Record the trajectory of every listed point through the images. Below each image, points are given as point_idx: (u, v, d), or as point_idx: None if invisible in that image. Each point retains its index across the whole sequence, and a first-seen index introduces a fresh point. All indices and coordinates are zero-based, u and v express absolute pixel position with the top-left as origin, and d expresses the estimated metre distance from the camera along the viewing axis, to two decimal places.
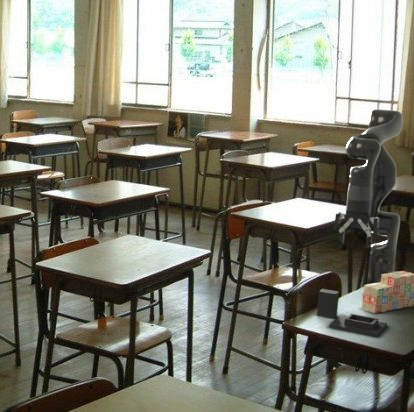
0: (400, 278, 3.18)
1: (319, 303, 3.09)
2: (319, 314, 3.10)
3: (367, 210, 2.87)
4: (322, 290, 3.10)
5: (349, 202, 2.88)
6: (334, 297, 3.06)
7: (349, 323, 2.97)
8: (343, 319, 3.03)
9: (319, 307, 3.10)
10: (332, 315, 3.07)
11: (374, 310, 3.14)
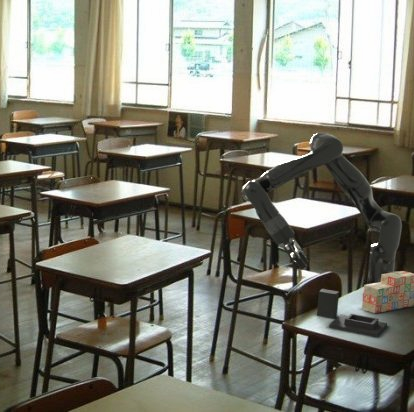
0: (400, 278, 3.18)
1: (319, 303, 3.09)
2: (319, 314, 3.10)
3: (279, 240, 3.09)
4: (322, 290, 3.10)
5: None
6: (334, 297, 3.06)
7: (349, 323, 2.97)
8: (343, 319, 3.03)
9: (319, 307, 3.10)
10: (332, 315, 3.07)
11: (374, 310, 3.14)
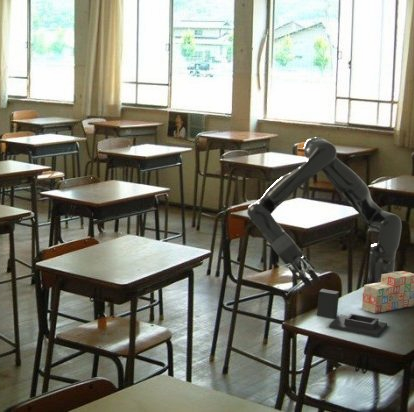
0: (400, 278, 3.18)
1: (319, 303, 3.09)
2: (319, 314, 3.10)
3: (286, 260, 3.12)
4: (322, 290, 3.10)
5: None
6: (334, 297, 3.06)
7: (349, 323, 2.97)
8: (343, 319, 3.03)
9: (319, 307, 3.10)
10: (332, 315, 3.07)
11: (374, 310, 3.14)
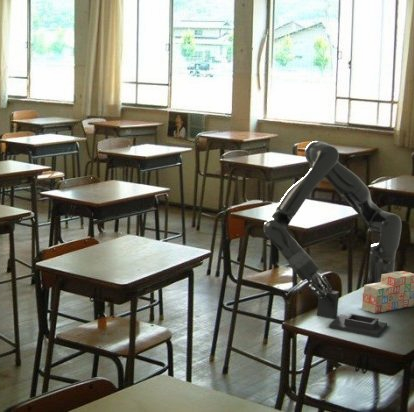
0: (400, 278, 3.18)
1: (319, 303, 3.09)
2: (319, 314, 3.10)
3: (303, 277, 3.10)
4: None
5: None
6: (334, 297, 3.06)
7: (349, 323, 2.97)
8: (343, 319, 3.03)
9: (319, 307, 3.10)
10: (332, 315, 3.08)
11: (374, 310, 3.14)
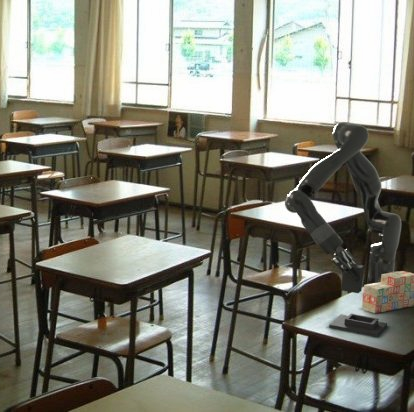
0: (400, 278, 3.18)
1: (343, 277, 2.99)
2: (343, 289, 3.00)
3: (326, 250, 3.00)
4: None
5: None
6: (359, 271, 2.96)
7: (349, 323, 2.97)
8: (343, 319, 3.03)
9: (343, 282, 3.00)
10: (356, 290, 2.97)
11: (374, 310, 3.14)
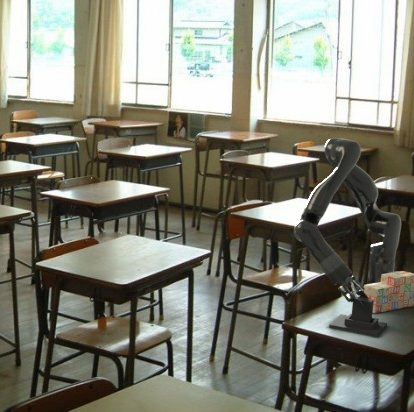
0: (400, 278, 3.18)
1: (353, 311, 2.97)
2: None
3: (335, 281, 2.97)
4: None
5: None
6: (369, 305, 2.94)
7: (349, 323, 2.97)
8: (343, 319, 3.03)
9: (353, 315, 2.97)
10: None
11: (374, 310, 3.14)
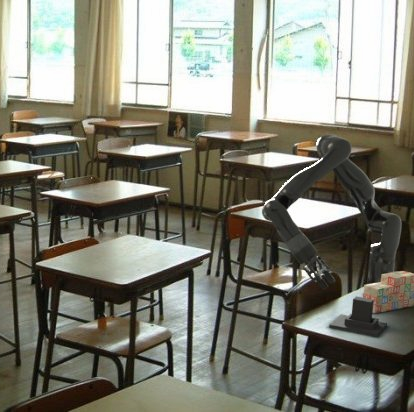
0: (400, 278, 3.18)
1: (353, 311, 2.97)
2: None
3: (301, 260, 3.03)
4: (356, 298, 2.98)
5: None
6: (369, 305, 2.94)
7: (349, 323, 2.97)
8: (343, 319, 3.03)
9: (353, 315, 2.97)
10: None
11: (374, 310, 3.14)
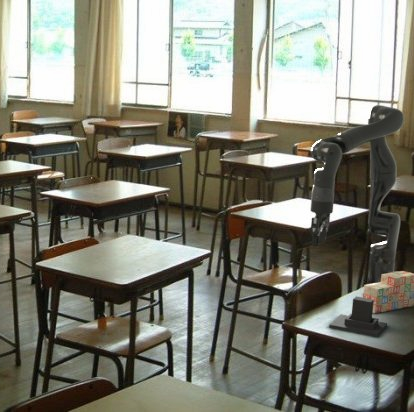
0: (400, 278, 3.18)
1: (353, 311, 2.97)
2: None
3: (314, 210, 3.02)
4: (356, 298, 2.98)
5: None
6: (369, 305, 2.94)
7: (349, 323, 2.97)
8: (343, 319, 3.03)
9: (353, 315, 2.97)
10: None
11: (374, 310, 3.14)
